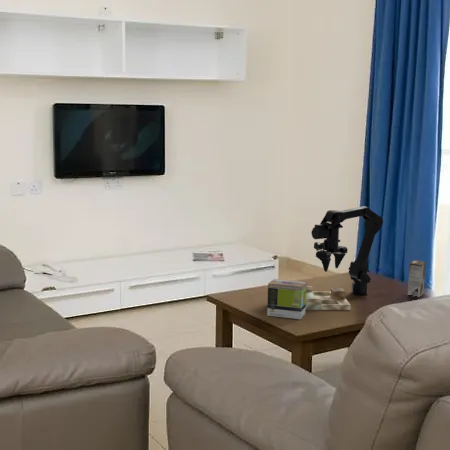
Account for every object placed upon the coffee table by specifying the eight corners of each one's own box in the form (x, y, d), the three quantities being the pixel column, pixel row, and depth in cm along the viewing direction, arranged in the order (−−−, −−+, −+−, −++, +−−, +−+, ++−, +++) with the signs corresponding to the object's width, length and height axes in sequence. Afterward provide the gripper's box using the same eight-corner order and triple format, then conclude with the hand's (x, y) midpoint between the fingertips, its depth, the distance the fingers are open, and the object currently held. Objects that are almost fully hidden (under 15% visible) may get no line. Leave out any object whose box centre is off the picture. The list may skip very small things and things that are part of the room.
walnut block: (341, 296, 343) (342, 288, 342) (344, 299, 337) (345, 291, 336) (330, 296, 342) (330, 288, 341) (332, 299, 337) (333, 291, 336)
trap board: (339, 296, 351) (339, 286, 350) (350, 310, 330) (351, 299, 329) (295, 296, 349) (296, 286, 349) (304, 309, 328) (304, 298, 327)
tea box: (305, 314, 322) (307, 281, 319) (300, 320, 312) (302, 286, 310) (272, 309, 326) (273, 277, 324) (266, 316, 317) (267, 282, 314)
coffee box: (410, 291, 365) (413, 259, 362) (423, 293, 363) (426, 261, 360) (406, 295, 357) (409, 263, 354) (420, 297, 354) (422, 264, 352)
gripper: (329, 232, 356) (327, 263, 359) (306, 237, 342) (305, 270, 345) (348, 235, 349) (347, 267, 352) (326, 241, 335) (325, 274, 338)
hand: (331, 269), depth 347 cm, fingers open, 9 cm apart
